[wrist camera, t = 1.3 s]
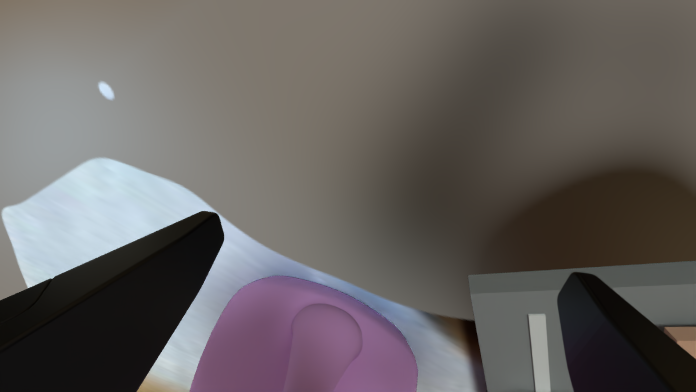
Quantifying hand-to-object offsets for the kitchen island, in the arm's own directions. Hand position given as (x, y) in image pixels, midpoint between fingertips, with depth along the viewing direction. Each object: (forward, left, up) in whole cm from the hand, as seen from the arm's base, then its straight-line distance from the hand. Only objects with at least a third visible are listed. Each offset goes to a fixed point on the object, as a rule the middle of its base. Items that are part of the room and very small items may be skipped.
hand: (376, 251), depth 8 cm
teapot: (-18, +12, -14) cm, 26 cm away
